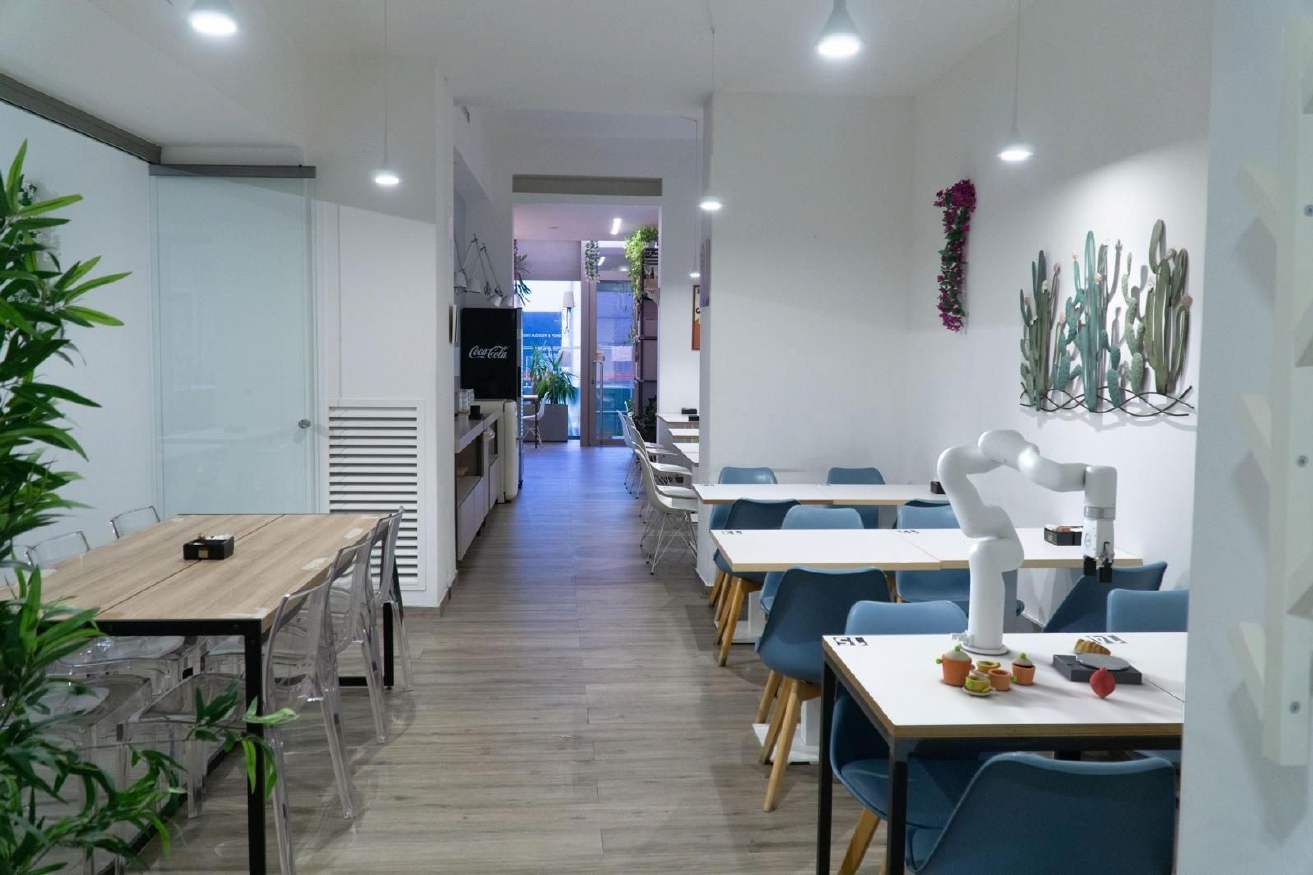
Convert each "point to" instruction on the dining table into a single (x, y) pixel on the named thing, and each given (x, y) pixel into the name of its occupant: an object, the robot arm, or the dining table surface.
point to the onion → (1102, 682)
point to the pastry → (1090, 648)
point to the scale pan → (1102, 661)
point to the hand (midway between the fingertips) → (1097, 579)
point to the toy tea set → (983, 672)
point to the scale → (1092, 671)
